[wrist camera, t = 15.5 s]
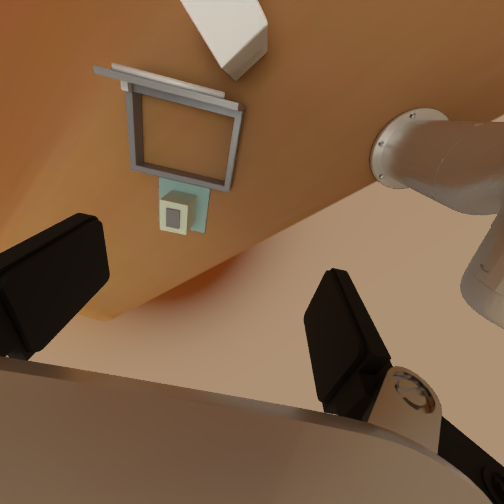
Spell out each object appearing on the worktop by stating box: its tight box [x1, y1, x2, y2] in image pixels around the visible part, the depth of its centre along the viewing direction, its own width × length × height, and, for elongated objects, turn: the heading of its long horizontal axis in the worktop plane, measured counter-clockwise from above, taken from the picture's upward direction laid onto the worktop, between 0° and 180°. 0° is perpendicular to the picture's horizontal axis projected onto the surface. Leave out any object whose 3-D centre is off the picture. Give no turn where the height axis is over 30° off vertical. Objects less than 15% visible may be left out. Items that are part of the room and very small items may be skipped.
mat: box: [159, 177, 210, 233], centre depth 47 cm, size 10×10×1 cm
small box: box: [179, 0, 268, 81], centre depth 27 cm, size 8×6×13 cm
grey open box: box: [93, 63, 245, 193], centre depth 35 cm, size 18×15×10 cm
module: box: [160, 190, 197, 235], centre depth 44 cm, size 5×6×6 cm
